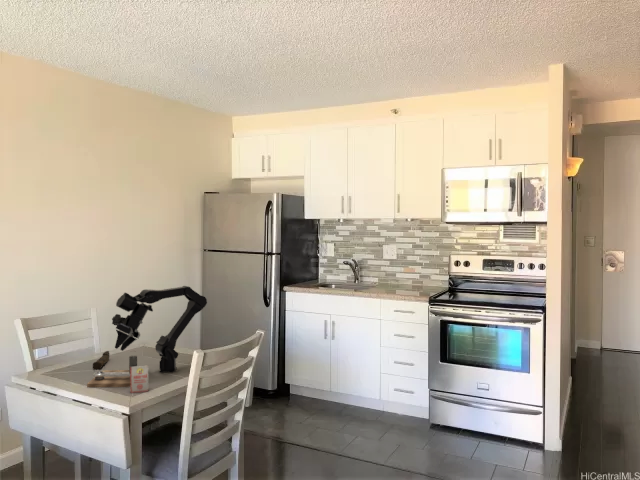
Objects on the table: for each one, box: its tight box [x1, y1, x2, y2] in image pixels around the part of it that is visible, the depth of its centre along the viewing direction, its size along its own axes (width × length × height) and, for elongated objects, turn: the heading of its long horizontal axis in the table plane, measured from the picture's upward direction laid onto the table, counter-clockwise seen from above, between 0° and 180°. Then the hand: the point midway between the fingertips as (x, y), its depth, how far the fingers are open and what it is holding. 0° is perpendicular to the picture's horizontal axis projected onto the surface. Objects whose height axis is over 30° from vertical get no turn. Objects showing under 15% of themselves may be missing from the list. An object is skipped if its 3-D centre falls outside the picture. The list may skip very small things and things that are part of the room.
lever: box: [92, 355, 138, 378], centre depth 227 cm, size 18×4×8 cm, turn 93°
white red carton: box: [130, 365, 149, 394], centre depth 217 cm, size 4×7×10 cm, turn 108°
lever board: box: [86, 369, 131, 388], centre depth 231 cm, size 20×19×3 cm
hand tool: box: [92, 350, 110, 371], centre depth 255 cm, size 19×4×5 cm, turn 4°
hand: (118, 349), depth 230 cm, fingers open, 9 cm apart
